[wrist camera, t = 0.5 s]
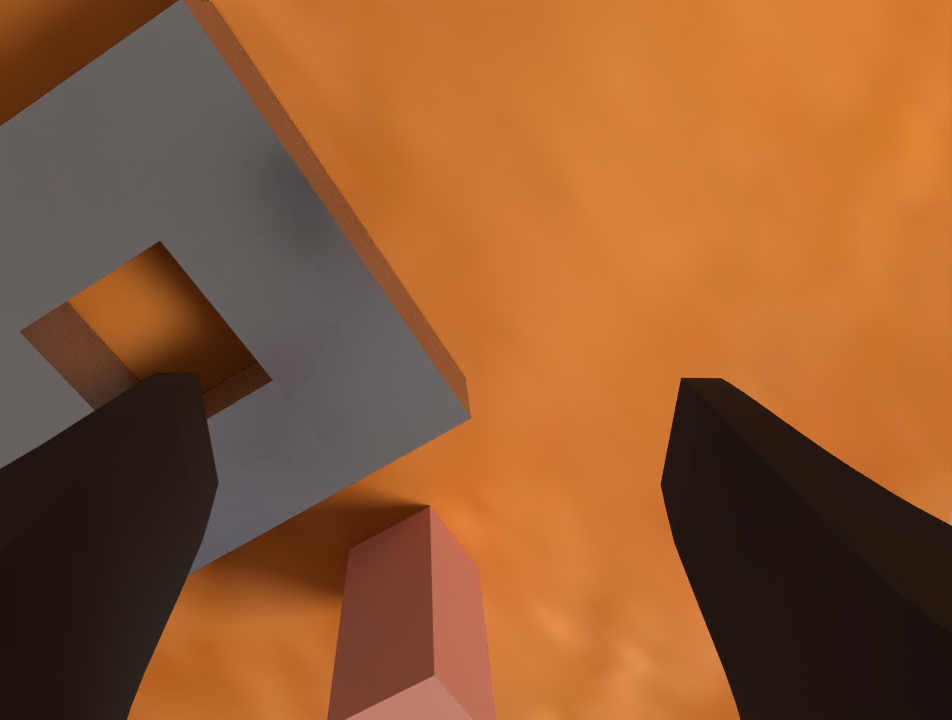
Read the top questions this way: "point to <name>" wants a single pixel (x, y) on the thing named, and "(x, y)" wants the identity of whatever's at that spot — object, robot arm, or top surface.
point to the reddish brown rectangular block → (412, 629)
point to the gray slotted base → (210, 274)
